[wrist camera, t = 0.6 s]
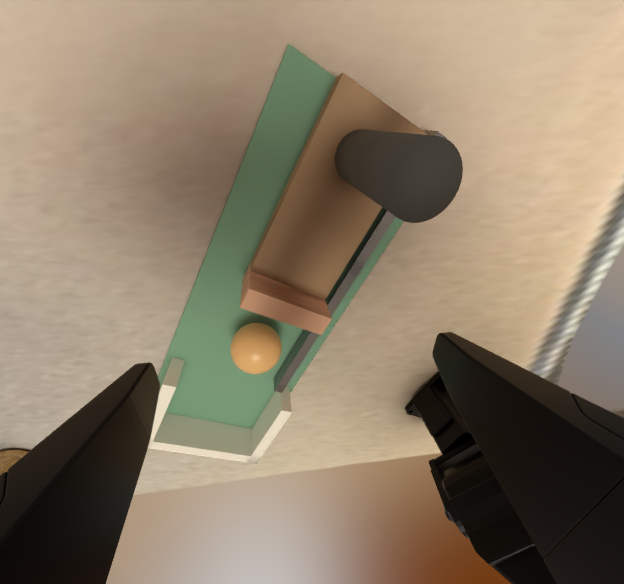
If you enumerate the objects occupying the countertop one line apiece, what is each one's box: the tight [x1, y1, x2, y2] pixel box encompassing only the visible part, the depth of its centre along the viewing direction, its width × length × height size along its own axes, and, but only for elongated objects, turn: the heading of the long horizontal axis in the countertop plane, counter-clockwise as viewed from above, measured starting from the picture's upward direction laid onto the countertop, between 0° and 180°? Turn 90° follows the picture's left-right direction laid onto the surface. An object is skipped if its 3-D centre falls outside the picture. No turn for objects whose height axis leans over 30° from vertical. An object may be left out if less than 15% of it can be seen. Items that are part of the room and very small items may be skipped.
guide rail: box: [273, 130, 446, 393], centre depth 23 cm, size 1×24×2 cm, turn 152°
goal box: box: [148, 357, 292, 464], centre depth 27 cm, size 11×8×3 cm
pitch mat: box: [158, 44, 404, 429], centre depth 24 cm, size 12×32×1 cm, turn 152°
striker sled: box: [240, 73, 463, 335], centre depth 16 cm, size 6×14×10 cm, turn 152°
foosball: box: [230, 323, 282, 374], centre depth 23 cm, size 4×4×4 cm
